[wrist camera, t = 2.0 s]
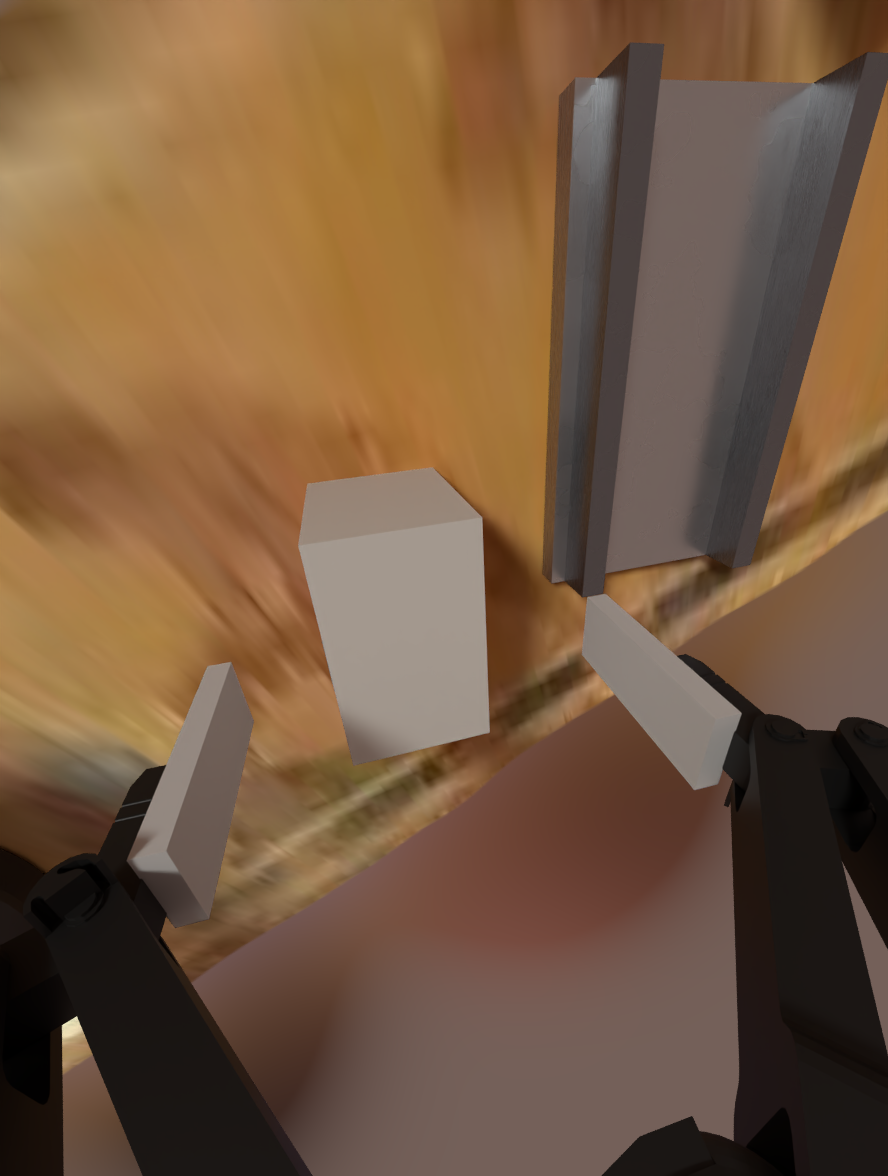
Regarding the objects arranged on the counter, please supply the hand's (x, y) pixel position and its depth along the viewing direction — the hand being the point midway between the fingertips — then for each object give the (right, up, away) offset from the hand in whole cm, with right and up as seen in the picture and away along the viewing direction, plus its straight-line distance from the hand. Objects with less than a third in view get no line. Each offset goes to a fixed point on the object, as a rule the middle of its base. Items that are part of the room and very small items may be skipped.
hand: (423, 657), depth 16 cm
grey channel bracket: (+12, +13, +6) cm, 18 cm away
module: (-2, +4, +7) cm, 8 cm away
